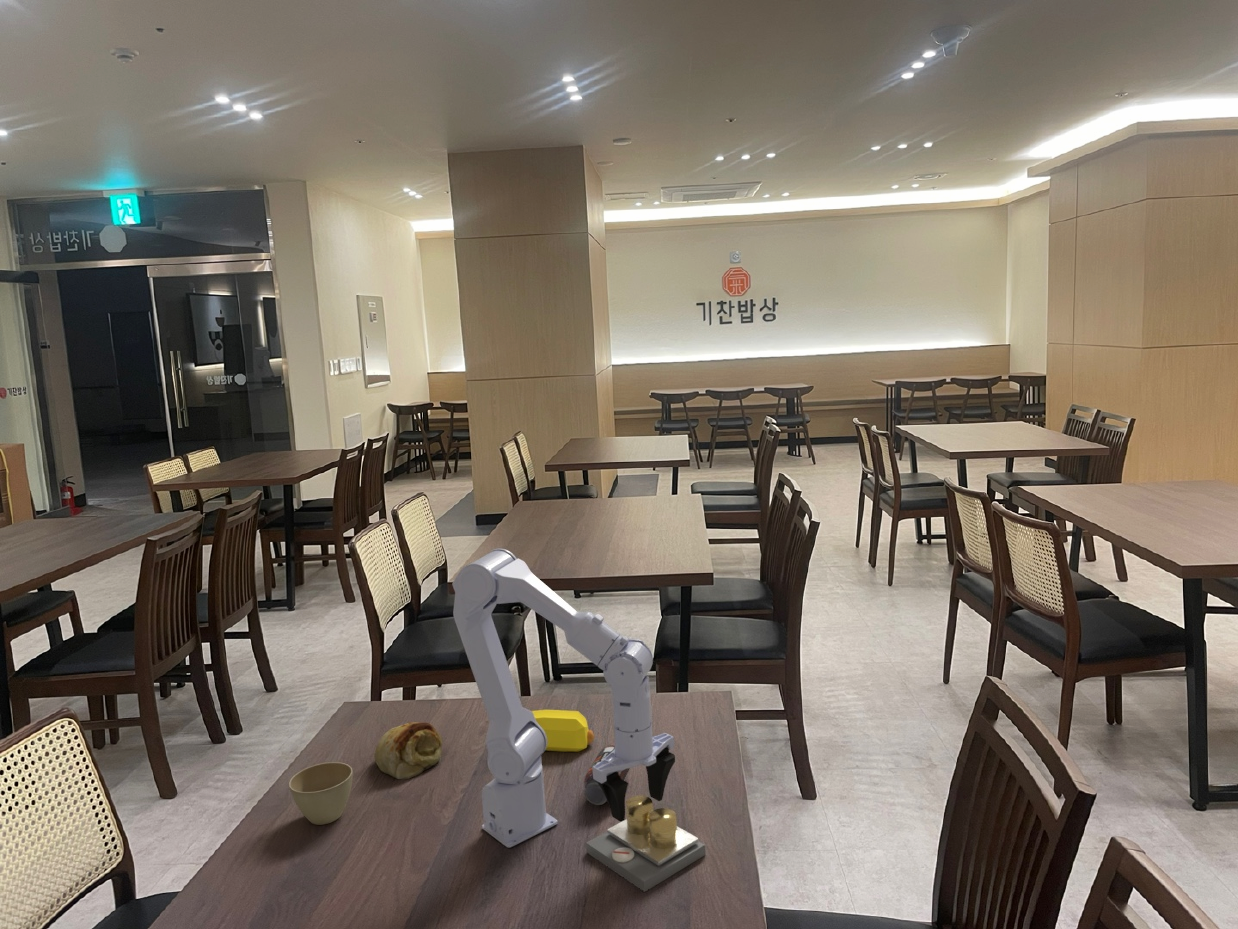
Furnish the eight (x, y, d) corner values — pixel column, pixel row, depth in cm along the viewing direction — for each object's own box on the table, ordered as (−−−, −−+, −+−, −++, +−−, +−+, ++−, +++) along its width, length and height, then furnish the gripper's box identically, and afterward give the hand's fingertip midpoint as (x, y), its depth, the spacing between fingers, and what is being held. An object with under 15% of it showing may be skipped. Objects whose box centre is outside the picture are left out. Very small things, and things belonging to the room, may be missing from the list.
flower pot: (368, 803, 148) (364, 763, 147) (334, 837, 138) (329, 795, 137) (317, 797, 151) (312, 759, 150) (280, 830, 141) (275, 789, 140)
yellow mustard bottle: (592, 756, 160) (597, 736, 168) (590, 721, 159) (594, 703, 166) (496, 757, 161) (504, 738, 169) (493, 723, 160) (502, 705, 168)
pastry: (425, 782, 154) (420, 740, 153) (360, 778, 157) (356, 737, 155) (456, 744, 167) (453, 705, 166) (397, 741, 170) (392, 703, 169)
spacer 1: (622, 831, 131) (621, 806, 130) (635, 817, 134) (633, 793, 134) (646, 837, 129) (644, 812, 128) (658, 823, 132) (656, 799, 132)
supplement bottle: (602, 739, 152) (583, 771, 141) (635, 750, 150) (617, 784, 140) (595, 768, 153) (575, 803, 142) (627, 780, 152) (609, 816, 141)
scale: (644, 892, 120) (643, 879, 120) (586, 852, 130) (585, 840, 130) (705, 855, 128) (704, 842, 128) (646, 820, 138) (645, 808, 138)
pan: (658, 868, 123) (658, 862, 123) (607, 835, 132) (607, 829, 132) (698, 844, 128) (698, 838, 128) (646, 814, 137) (646, 808, 137)
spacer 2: (661, 852, 125) (660, 827, 124) (644, 840, 128) (643, 815, 128) (683, 841, 127) (681, 816, 127) (665, 829, 131) (664, 805, 130)
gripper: (612, 749, 122) (618, 839, 124) (686, 715, 131) (690, 799, 133) (581, 733, 127) (587, 819, 129) (654, 702, 136) (659, 782, 138)
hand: (637, 808), depth 132 cm, fingers open, 7 cm apart
